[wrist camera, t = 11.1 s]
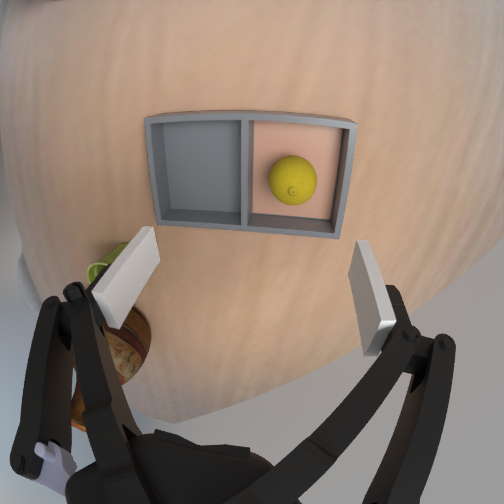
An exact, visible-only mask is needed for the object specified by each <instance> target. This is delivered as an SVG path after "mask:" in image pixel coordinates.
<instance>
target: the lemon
mask: <svg viewBox="0 0 504 504" xmlns="http://www.w3.org/2000/svg"><path fill="white" fill-rule="evenodd" d="M269 186H270V189H271V191H272V193H273V195H274V196H275V197H276V199H278V200H279V201H280V202H282V203H284V204H286V205H291V206H297V205H300V204H303V203H305V202H307V201H308V200H309V199H310V198H311V197H312V195H313V194H314V192H315V190H316V187H317V175H316V172H315V170H314V168H313V166H312V165H311V164H310V163H309V161H307V160H306V159H304V158H302V157H299V156H294V155H291V156H285V157H283V158H281V159H279V160H278V161H277V162H276V163H275V164H274V165H273V167H272V168H271V171H270V173H269Z"/></svg>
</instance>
